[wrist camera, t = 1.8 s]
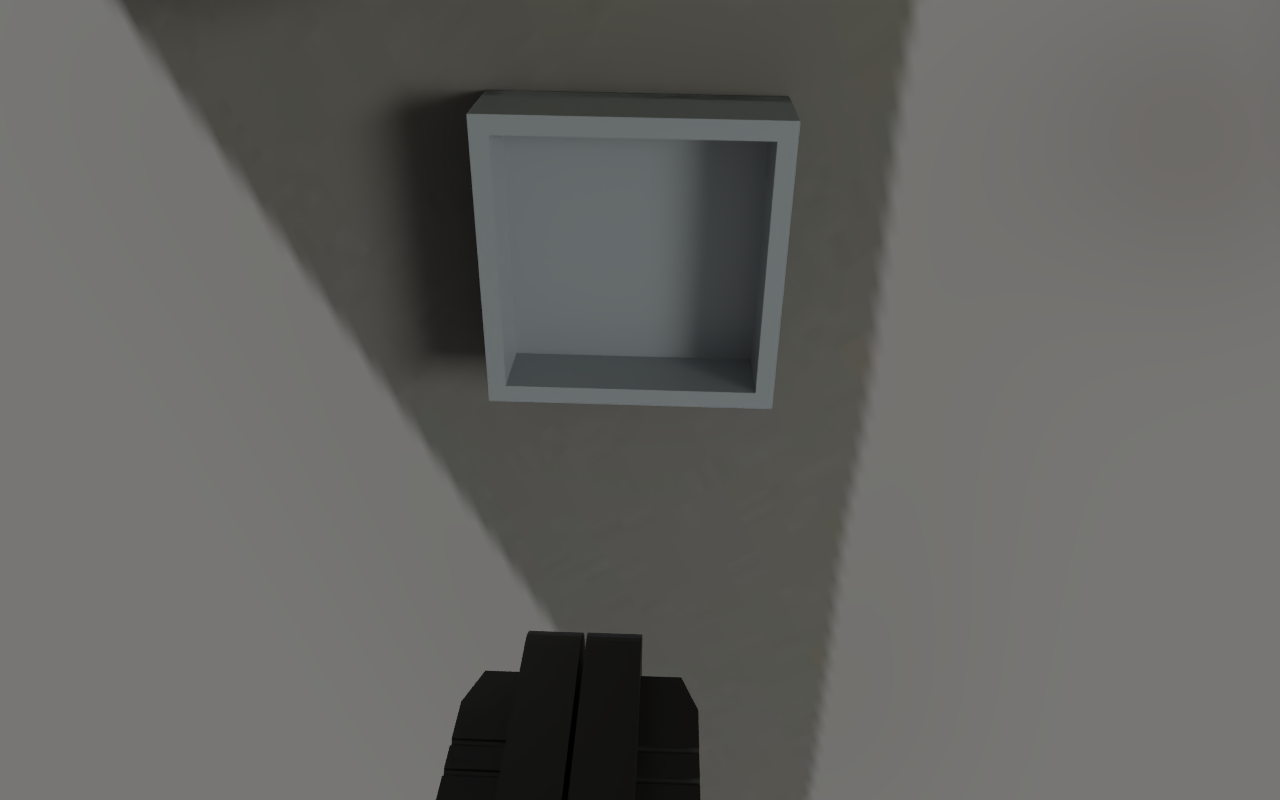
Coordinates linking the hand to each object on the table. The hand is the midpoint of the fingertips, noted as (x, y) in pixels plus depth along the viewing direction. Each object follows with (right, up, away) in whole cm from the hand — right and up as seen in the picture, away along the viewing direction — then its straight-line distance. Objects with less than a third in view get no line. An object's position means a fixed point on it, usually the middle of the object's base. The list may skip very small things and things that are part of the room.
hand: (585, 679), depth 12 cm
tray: (+1, +8, +14) cm, 16 cm away
